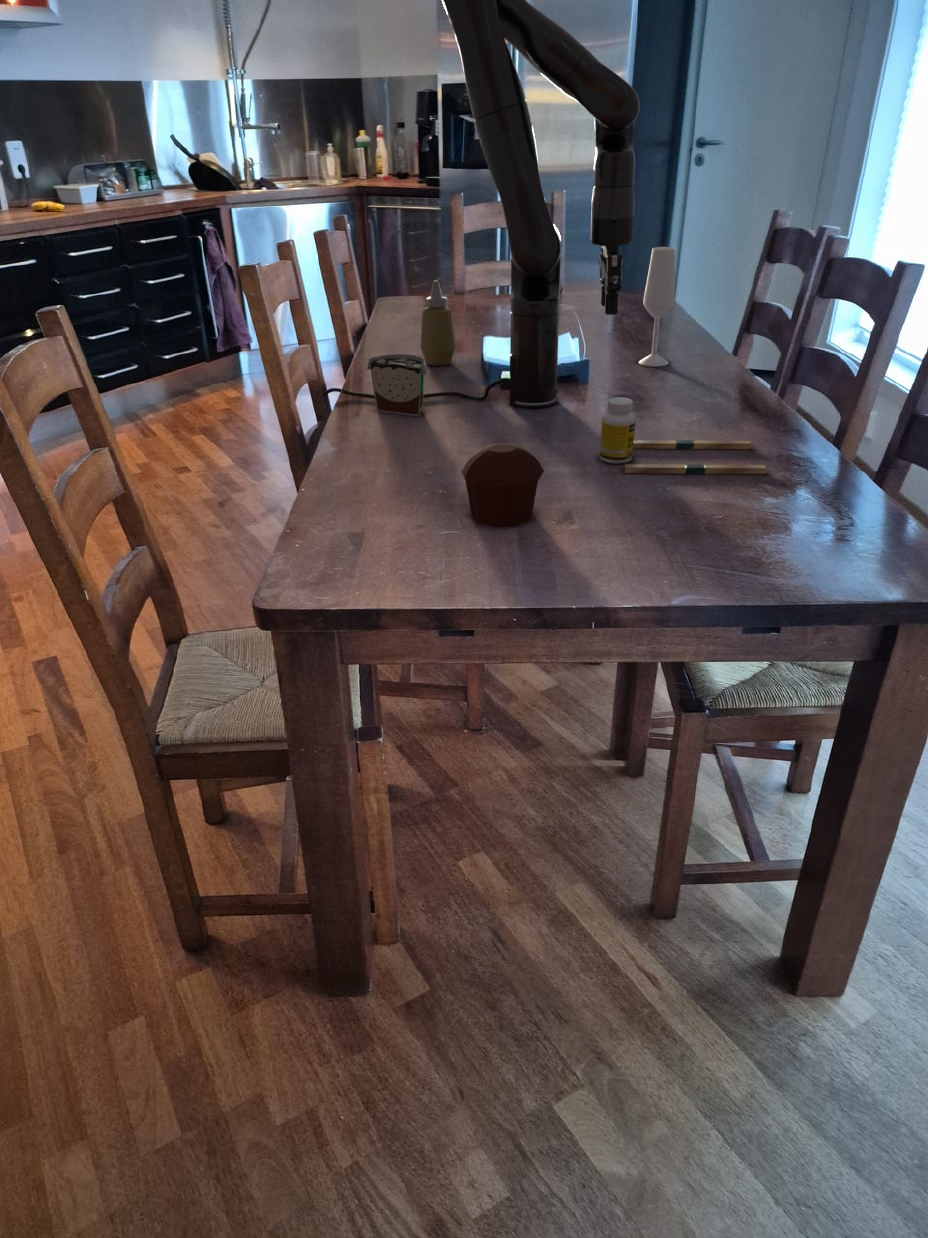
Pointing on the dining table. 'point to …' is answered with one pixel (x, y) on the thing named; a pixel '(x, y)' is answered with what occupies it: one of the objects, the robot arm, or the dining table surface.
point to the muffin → (502, 484)
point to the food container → (398, 383)
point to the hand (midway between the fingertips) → (608, 309)
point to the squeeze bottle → (437, 329)
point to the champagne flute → (659, 295)
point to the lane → (693, 468)
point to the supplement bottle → (617, 431)
